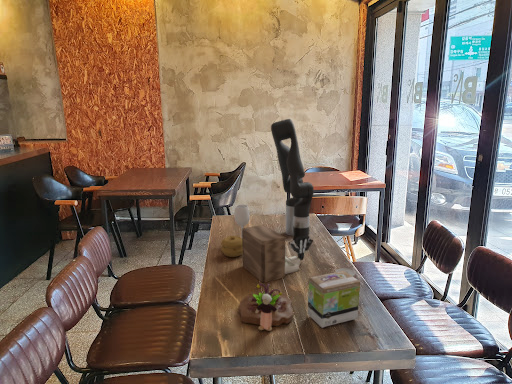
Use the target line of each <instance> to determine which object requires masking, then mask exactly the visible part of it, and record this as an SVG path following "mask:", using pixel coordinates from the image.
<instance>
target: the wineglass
mask: <svg viewBox="0 0 512 384" xmlns="http://www.w3.org/2000/svg"><path fill="white" fill-rule="evenodd" d="M233 214H234V215H233V216H234V217H233V218H234V222H235V223H236V225H238V226H239V227H240V231H241V233H240V234H241V235H240V237H241V238H242V228H245V226H246V225H247V224H248V223H249V222H250V218H251V217H250V216H251V215H250V214H251V213H250V209H249V206H248V205H247V204H236V206H235V208H234V213H233Z"/></svg>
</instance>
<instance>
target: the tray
mask: <svg viewBox="0 0 512 384" xmlns="http://www.w3.org/2000/svg"><path fill="white" fill-rule="evenodd" d="M300 265H301V260H300V258H298V256H297V255H293V256H289V257H287V256H286V265H285V275H287V274H290V273H291V274H292V273H295V272H299V271H300Z"/></svg>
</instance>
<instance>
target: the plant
mask: <svg viewBox="0 0 512 384" xmlns="http://www.w3.org/2000/svg"><path fill="white" fill-rule="evenodd" d="M261 287H263V289H264V290H263V292H261V291H259V292H254V293H249V294H248V295H246V296H245V297H244V298H242V300H240V303H239V305H238V314H239V315H240V322H242V323H246V324H253V325H258V326H261V325H260V319H261V311H262V310H259V312H258V313H255V311H256V309H257V307H258V306H259V305H260V304H261V303H263V300H262V296H263V295H264V294H269V295H270V296H271V298H272V301H271V302H270V304H271V305H273V306H275V307H276V308H277V311H278V315H276V314H275V312H274V311H272V310H271V313H272V325H271V327H272V326H273V327H274V326H275V327H280V326H281V325H282V324H286V325H287V324H289V323H291V322H292V320H293V316H294V315H293V314H294V312H293V310H292V306H293V301H292V300H291V298H289V297H288V296H287V295H285V294H284V293H283V292H282V291H281V289H278V288H275V289H272V290H271V291H270V288H271V283H267V284H266V285H265V284H264V283H262V282H261V283H260V282H259V283H258V284H257V285H256V288H257V289H260V288H261ZM274 292H278V293H274Z"/></svg>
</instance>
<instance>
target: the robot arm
mask: <svg viewBox="0 0 512 384" xmlns="http://www.w3.org/2000/svg"><path fill="white" fill-rule="evenodd" d="M270 125H271V126H270V130H271V135H272V139H273V142H274V145H275V149H276V155H277V159H278V165H279V168H280V172H281V177H282V178H281V179H282V186H283V191H284V193H286V194H290V195H291V197H290V198H287V199H286V200H285V234H286V235H288V236H293V237H292V241H290V242H288V246H289V247H290V249H292V250H293V252H295V253H297V255H296V257H298V258H300V261H303V260H304V258H305V252H307V251H309V249H310V247H311V245H312V244H313V242H314V239H312V238H310V226H311V225H310V224H311V222H310V207H311V203H312V200H313V197H314V193H315V190H314V186H313V184H312V183H311V182H309V181H306V182H304V179H303V178H305V176H306V174H305V173H306V172H305V169H304V166H303V163H302V159H301V158H302V157H301V154H300V148H299V142H298V137H297V132H296V129H295V128H296V126H295V124H294V122H293V120H292V119H291V118H286V119H283V120H282V119H281V120H279V121H275V122H273V123H272V124H270ZM289 139H290V147H289V146H287V144H285V143H284V142H283V141H285V140H289Z"/></svg>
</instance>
